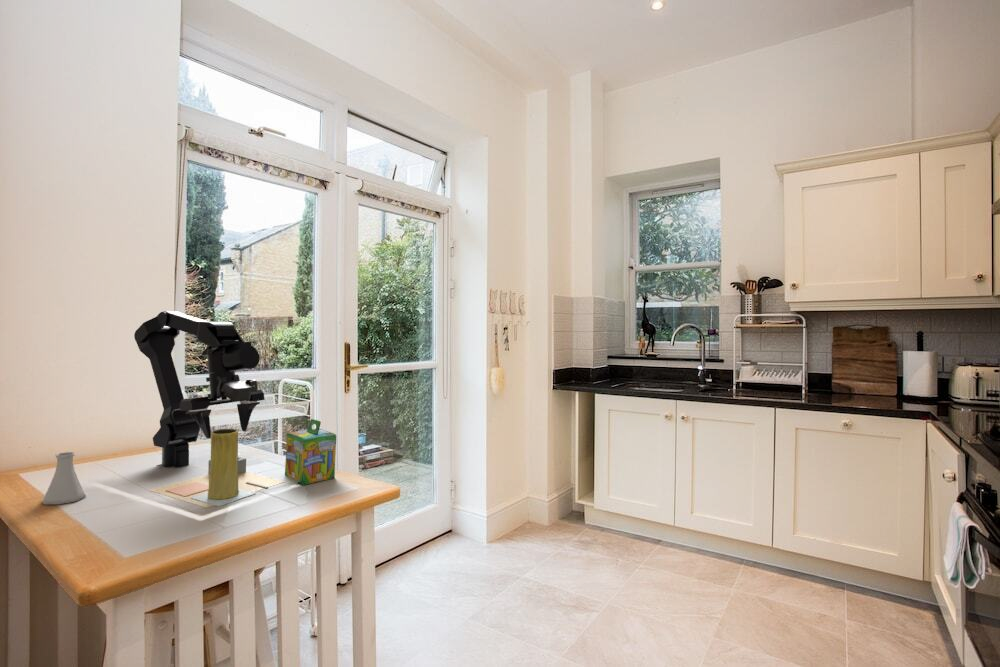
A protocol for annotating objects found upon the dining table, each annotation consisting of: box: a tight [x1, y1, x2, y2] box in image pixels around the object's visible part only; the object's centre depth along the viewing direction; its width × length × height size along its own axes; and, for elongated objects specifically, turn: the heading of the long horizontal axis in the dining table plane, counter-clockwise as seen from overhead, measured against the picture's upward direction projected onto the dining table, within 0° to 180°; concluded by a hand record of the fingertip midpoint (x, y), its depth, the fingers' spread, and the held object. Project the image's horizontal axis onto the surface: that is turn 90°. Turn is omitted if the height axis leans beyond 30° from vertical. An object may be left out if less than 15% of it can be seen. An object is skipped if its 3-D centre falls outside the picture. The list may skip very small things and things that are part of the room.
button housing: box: [207, 456, 247, 475], centre depth 129 cm, size 6×6×4 cm
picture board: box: [149, 471, 286, 509], centre depth 119 cm, size 22×20×1 cm
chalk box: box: [284, 418, 337, 486], centre depth 130 cm, size 9×9×15 cm
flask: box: [42, 451, 86, 505], centre depth 109 cm, size 7×7×10 cm
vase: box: [208, 428, 239, 500], centre depth 112 cm, size 6×6×14 cm
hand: (227, 434), depth 126 cm, fingers open, 9 cm apart
